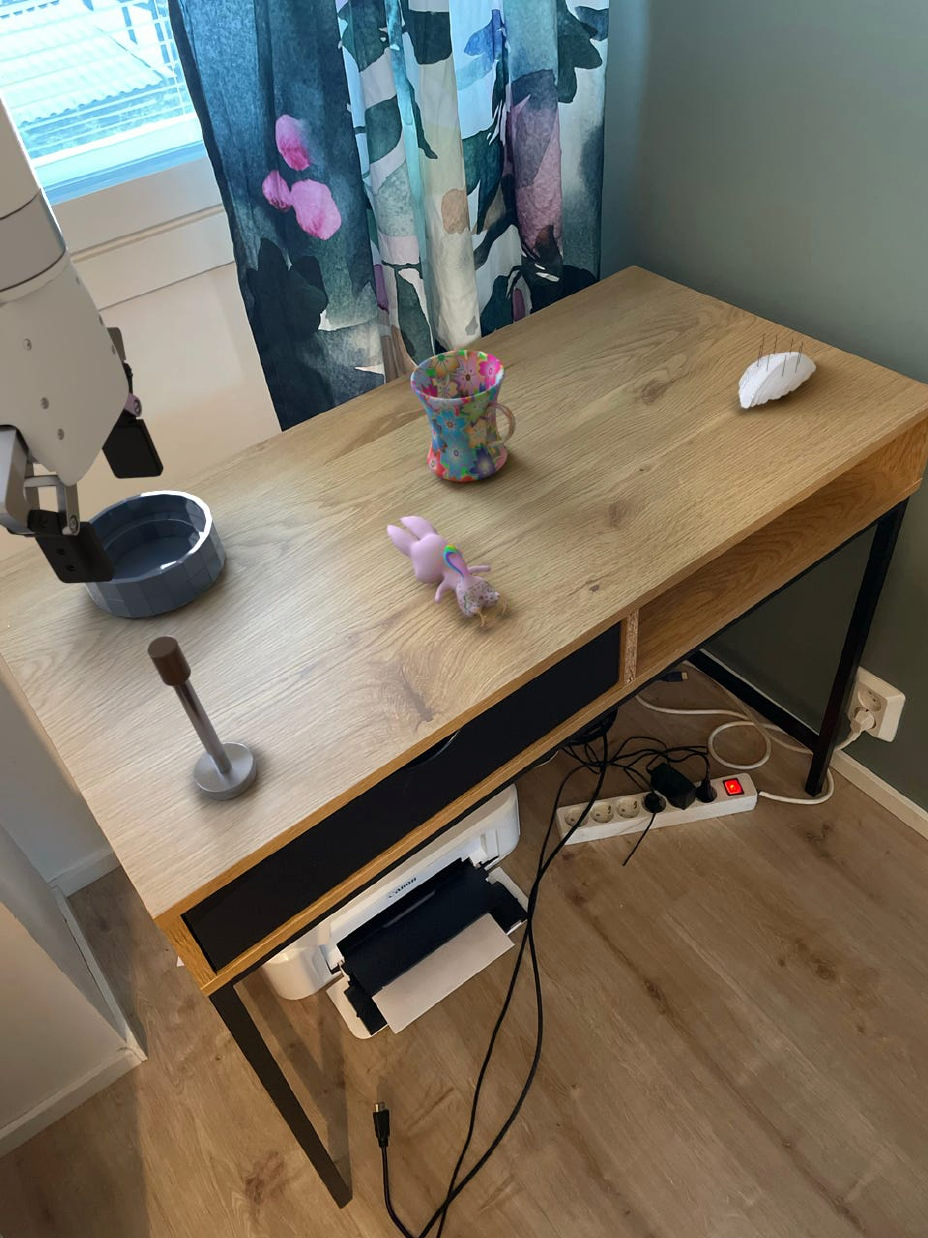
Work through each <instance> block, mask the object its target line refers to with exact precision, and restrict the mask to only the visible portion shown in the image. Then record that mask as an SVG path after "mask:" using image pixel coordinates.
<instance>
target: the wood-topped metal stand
mask: <svg viewBox="0 0 928 1238" xmlns="http://www.w3.org/2000/svg"><path fill="white" fill-rule="evenodd" d="M146 653H147V655H148V656H149V658H150V660H151V662H152V665H153V666H154V668H155V670H156V672H157V673H158V676H159V677H160V679H161V681H162V682H163V684H164V685H166V686H169V687H172V689H173V691H174V693H175V695H176V697H177V698H178V701H179V702H180V704H181V706H182V707H183V710H184V711H185V713H186V715H187V717H188V719H189V721H190V722H191V725H192V726H193V728H194V730H195V732H196V735H197V736H198V738H199V740H200V742H201V744H202V746H203V749H205V752H204V753H202V755H201V756H200V757H199V759H198V760H197V762H196V764H195V767H194V772H193V774H194V775H193V776H194V780H195V782H196V785H197V787H198V788H199V790H200V791H201V793H202V794H203V795H204V796H205V797H207V798H209V799H212V800H215V801H225V800H231V799H234V798H236V797H238V796H240V795H242V794H243V793H245V792H246V791H247V790H248V789H249V788H250V787H251V786H252V784H253V783H254V781H255V779H256V777H257V773H258V765H257V762H256V759H255V758H254V755H253V753H252V751H251V750H250V748H248V746H246V745H244V744H242V743H239V742H233V741H232V742H231V741H230V742H229V741H228V742H223V743H222V742H221V740H220V738H219V736H218V734H217V732H216V729H215V728H214V726H213V723H212V722H211V720H210V718H209V716H208V714H207V712H206V710H205V708H204V706H203V704H202V702H201V700H200V698H199V696H198V694H197V692H196V690H195V688H194V685H193V684H192V682H191V680H190V677H191V674H192V669H191V666H190V664H189V661H188V660H187V658H186V656H185V653H184V652H183V649H182V648H181V646H180V644H179V641H178V640H177V639H176V638H175V637H174V636H172V635H161V636H158V637H155V638H154V639H153V640H152V641H151V642H150V643H149V644H148V646H147V651H146Z"/></svg>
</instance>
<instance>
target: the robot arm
mask: <svg viewBox="0 0 928 1238" xmlns="http://www.w3.org/2000/svg"><path fill="white" fill-rule="evenodd" d="M68 247H69V246H68V245H67V243H66V241H65V239H64V235H63V234H62V231H61V229H60V227H59V224H58V222H57V219H56V216H55V214H54V212H53V210H52V208H51V205H50V203H49V200H48V197H47V196H46V193H45V191H44V189H43V186H42V184H41V183H40V180H39V177H38V175H37V173H36V170H35V168H34V166H33V163H32V161H31V158H30V156H29V154H28V151H27V149H26V147H25V144H24V142H23V140H22V137H21V135H20V132H19V130H18V128H17V126H16V124H15V121H14V119H13V116H12V114H11V111H10V108H9V106H8V104H7V102H6V99H5V97H4V94H3V93H2V90H1V89H0V526H2V527H3V528H5V529H6V531H7V533H9V535H15V536H21V537H24V538H27V539H31V538H34V540H35V541H36V544H37V545H38V547H39V549H40V550H41V552H42V554H43V555H44V557H45V559H46V560H47V562H48V564H49V565H50V567H51V569H52V570H53V572H54V574H55V576H56V577H57V579H58V580H59V581H60V582H61V583H63V584H83V583H92V582H110V581H112V579H113V577H114V575H115V570H114V567H113V565H112V563H111V562H110V560H109V558H108V556H107V554H106V552H105V550H104V548H103V546H102V544H101V542H100V541H99V539H98V537H97V535H96V533H95V531H94V529H93V527H92V525H91V524H90V522H88V521H85V520H84V521H81V515H80V503H79V492H78V482H80V481H81V480H82V479H83V478H84V476H85V475H86V474H87V472H88V471H89V470H90V469H91V467H92V465H93V464H94V462H95V460H96V459H97V457H98V455H99V454H100V452H101V450H102V453H103V455H104V457H105V459H106V461H107V463H108V465H109V467H110V470H111V472H112V473H113V476H114V478H116V479H118V480H123V479H124V480H125V479H142V478H157V477H160V476H161V475H162V474H163V471H164V464H163V463H162V460H161V458H160V455H159V453H158V451H157V448H156V446H155V444H154V441H153V438H152V437H151V434H150V432H149V429H148V427H147V424H146V422H145V420H144V418H140V417H141V416H142V414H143V405H142V402H141V400H140V398H139V397H138V396H137V395H135V394H134V383H133V377H134V373H133V372H132V371H133V369H132V368H131V366H130V364H129V363H128V362H125V361H127V356H126V351H125V346H124V340H123V335H122V334H123V333H122V331H121V329H120V328H119V327H118V326H106V324H105V322H104V320H103V318H102V315H101V313H100V311H99V309H98V307H97V305H96V303H95V301H94V300H93V298H92V295H91V293H90V292H89V289H88V287H87V286H86V284H85V282H84V280H83V278H82V277H81V274H80V273H79V272H78V270H77V268H76V266H75V264H74V263H73V260H72V256H71V252H70V250H69V248H68ZM34 465H41V466H43V467H44V468H45V469H46V470H47V471H48V472H49V473H53V474H38V475H35V469H34V468H35V467H34ZM54 472H55V474H54ZM51 488H55V493H56V494H55V495H56V506H57V511H53V510H47V509H43V508H41V506H40V505H41V504H40V494H39V492H40V491H39V489H51Z"/></svg>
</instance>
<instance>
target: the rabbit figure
mask: <svg viewBox="0 0 928 1238" xmlns="http://www.w3.org/2000/svg"><path fill="white" fill-rule="evenodd" d="M399 520H400V522H401V523H402V524H403V525H404V527H405V528H406V529H407V530H408V531H409V532H410V533H411V534H410V533H409V532H407V531H406V530H405V529H403V528H402V527H398V526H395V525H393V524H389V525H387V527H386V528H387V530H386V531H387V534H388V537H389V538H390V540H391V541H392V543H393V544H394V546H395V547H396V549H397V550H398V551H399V552H400V553H402V554H403V555H405V556H406V557H408V558H409V559H410V561H411V563H412V567H413V572H414V576H415V579H416V580H417V581H418V582H420V583H423V584H426V585H431V584H434V583H440V584H439V586H438V588H437V589H436V592H435V597H434V602H435V603H436V604H440V603H441V602H442V598H443V597H442V595H443V594H444V593H445V592H446V591H448V590H449V591H451V592H453V593H454V594H456V597H457V601H458V606H459V608H460V610H461V612H462V613H463V614H464V616H466V617H467V618H469V619H470V618H471V619H475V618H478V617H480V618H481V624H480V629H481V630H486V626H487V625H488V624H489V625H491V623H490V622H489V621H488V620H487V616H486V615H483V613H482V612H483V608H488V609H489V608H493V607H495V606H496V604H497V603H498V601H500V603H502V605H503V610H502V612H501V616H504V613H505V615H508V611H509V612H511V611H512V610H511V609H510V607H509V604H508V601H505V600H504V598H503V597H502V596H503V595H502V594H501V593H499V592H498V591H497V590H496V589H495V588H494V586H493V585H492V584H491V582H489V580H487V579H486V578H484V577H481V576H478V575H473V574H475V573H478V572H479V573H480V572H484V573H489V572H491V570H492V567H491V566H490V565H473V566H468V567H467V564H466V562H465V559H463V551H462V549H460V548H459V547H458V546H455V545H454V544H452V543H451V542H450V541H448V540H447V539H446V538H445V537H443V536H441V535H439V534H438V530H437V528H436V527H435V526H434V525H433V524H432V523H431V522H430V521H428V520H427V519H426V518H423V517H421V516H416V515H411V516H404V517H403V516H402V517H401V518H400V519H399Z"/></svg>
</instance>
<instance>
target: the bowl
mask: <svg viewBox="0 0 928 1238" xmlns="http://www.w3.org/2000/svg"><path fill="white" fill-rule="evenodd" d="M87 522H90V524H91V525H92V527H93V529H94V531H95V533H96V535H97V537H98V539H99V541H100V542H101V544H102V546H103V548H104V550H105V552H106V554H107V556H108V558H109V560H110V562H111V563H112V565H113V567H114V570H115V575H114V577H113V579H112V581H110V582H92V583H82V584H83V586H84V588H85V589H86V592H87V593H88V595H89V596H90V597H91V599H92V600H93V602H94V603H95V604H96V606H97V607H98V608H99V609H101V610H103V611H105V612H107V613H109V614H110V615H112V616H119V617H125V618H133V619H135V618H136V619H137V618H145V617H155V616H157V615H161V614H163V613H164V614H165V613H166V612H170V611H173V610H176V609H179V608H181V607H182V606H184V605H186V604H188V603H190V602H191V601H193V600H195V599H197V598H199V596H200V595H202V594H203V593H204V592H205V591H206V590H208V589H209V588H210V587H211V586H212V585H213V584H215V581H216V580H217V579H218V577H219V575H220V574H221V572H222V571H223V569H224V565H225V560H226V556H227V555H226V554H227V553H226V549H225V546H224V543H223V538H222V537H221V534H220V532H219V529H218V527H217V523H216V521H215V518H214V516H213V514H212V511H211V509H210V507H209V506H208V505H207V504H206V503H205V502H204V501H203V500H202V499H201V498H200V497H197V496H195V495H192V494H190V493H188V492H184V491H175V490H159V491H158V490H157V491H149V492H143V493H140V494H137V495H136V494H135V495H133V496H129V497H126V498H124V499H122V500H119V501H118V502H116V503H113V504H111V505H109V506H107V507H105V508H103V509H102V510H101V511H99V512H98V513H97V514H96V515H94V516H93V517H92V518H90V519H89V520H87Z"/></svg>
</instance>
